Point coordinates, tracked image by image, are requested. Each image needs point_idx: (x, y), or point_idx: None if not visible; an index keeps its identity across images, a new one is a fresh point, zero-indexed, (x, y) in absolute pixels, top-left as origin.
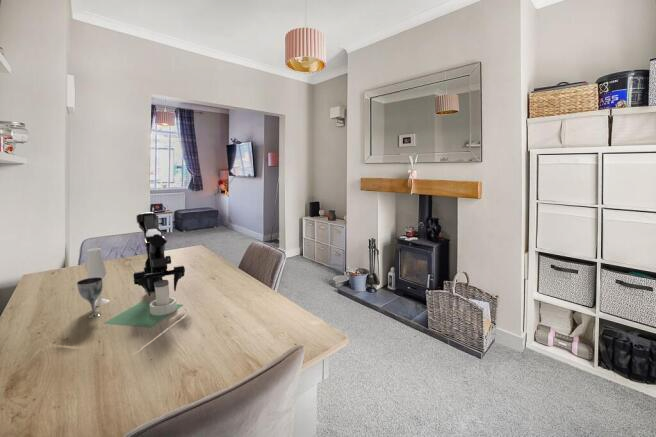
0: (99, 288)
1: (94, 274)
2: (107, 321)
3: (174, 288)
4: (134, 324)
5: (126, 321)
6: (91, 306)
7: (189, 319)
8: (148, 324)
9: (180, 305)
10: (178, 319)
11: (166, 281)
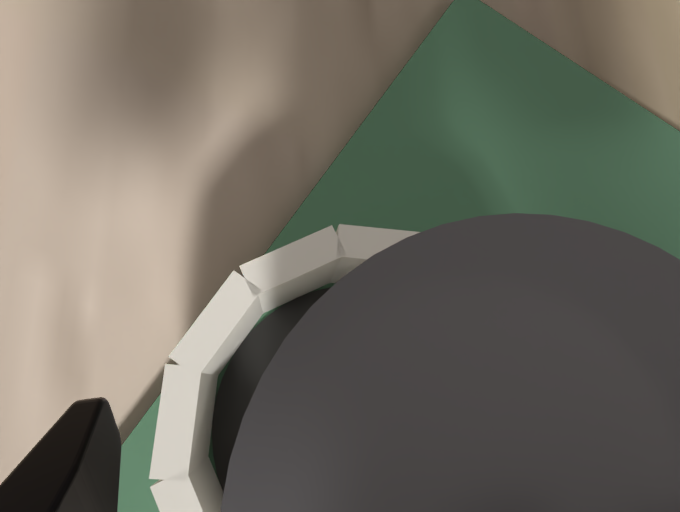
0: None
1: None
2: None
3: (90, 426)
4: (637, 137)
5: None
6: None
7: (65, 40)
8: (494, 70)
9: (122, 502)
10: (185, 96)
11: (312, 489)
